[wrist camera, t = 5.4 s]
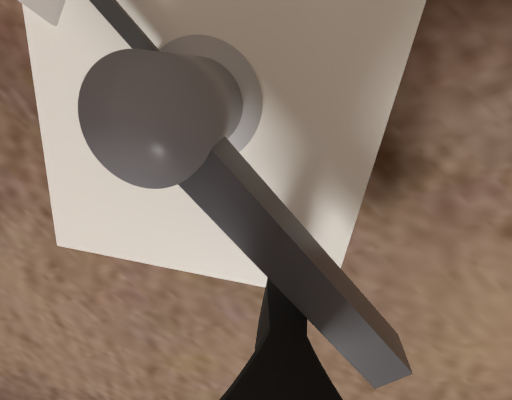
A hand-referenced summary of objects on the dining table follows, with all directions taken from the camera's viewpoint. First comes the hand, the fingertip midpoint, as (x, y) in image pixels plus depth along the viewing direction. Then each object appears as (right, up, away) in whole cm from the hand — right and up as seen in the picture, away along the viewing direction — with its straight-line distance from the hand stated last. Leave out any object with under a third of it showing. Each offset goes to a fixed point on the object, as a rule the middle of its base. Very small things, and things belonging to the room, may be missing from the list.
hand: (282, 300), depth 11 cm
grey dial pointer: (-2, +6, -1) cm, 6 cm away
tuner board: (-3, +7, 0) cm, 8 cm away
